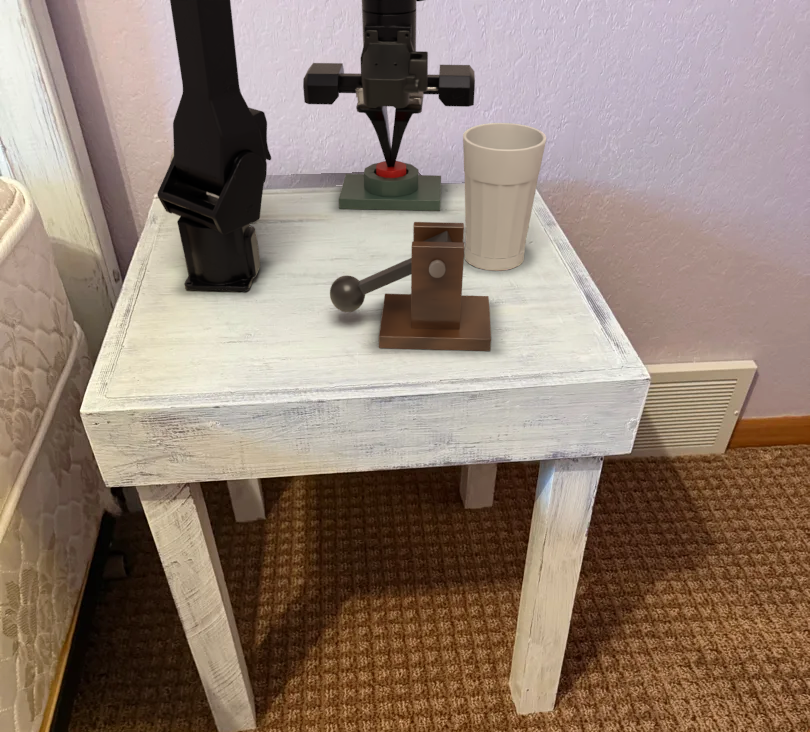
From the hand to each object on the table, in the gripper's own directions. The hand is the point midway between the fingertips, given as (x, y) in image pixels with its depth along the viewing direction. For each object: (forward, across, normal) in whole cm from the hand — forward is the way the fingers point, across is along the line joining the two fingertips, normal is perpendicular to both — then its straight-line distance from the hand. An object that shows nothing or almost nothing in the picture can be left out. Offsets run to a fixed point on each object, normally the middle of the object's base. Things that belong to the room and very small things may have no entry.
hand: (391, 165), depth 91 cm
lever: (0, +3, -31) cm, 31 cm away
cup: (+4, +12, -16) cm, 20 cm away
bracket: (+4, +6, -31) cm, 32 cm away
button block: (+4, 0, 0) cm, 4 cm away
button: (+2, 0, 0) cm, 2 cm away
